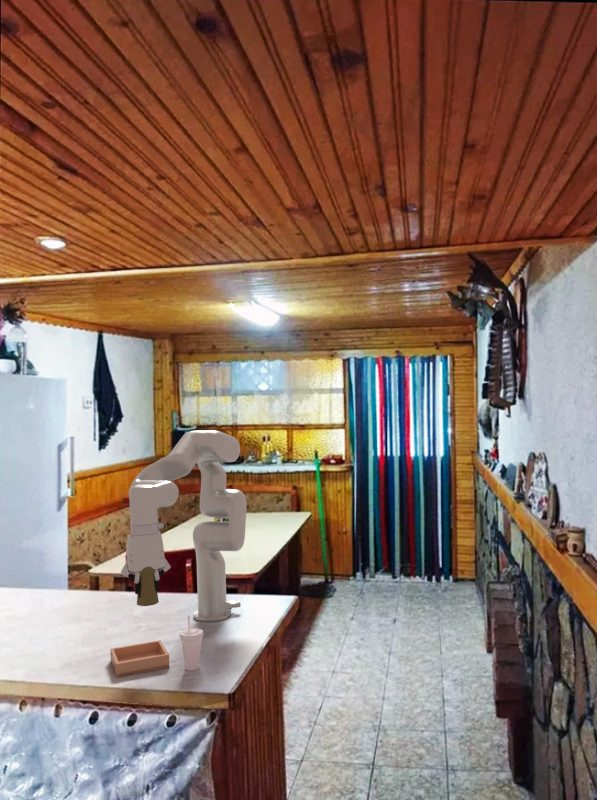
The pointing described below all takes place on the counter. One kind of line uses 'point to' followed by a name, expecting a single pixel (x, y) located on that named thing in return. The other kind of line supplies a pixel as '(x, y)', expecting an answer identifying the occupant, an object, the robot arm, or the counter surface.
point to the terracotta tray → (139, 658)
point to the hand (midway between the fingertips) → (146, 594)
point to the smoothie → (191, 646)
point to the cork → (147, 588)
